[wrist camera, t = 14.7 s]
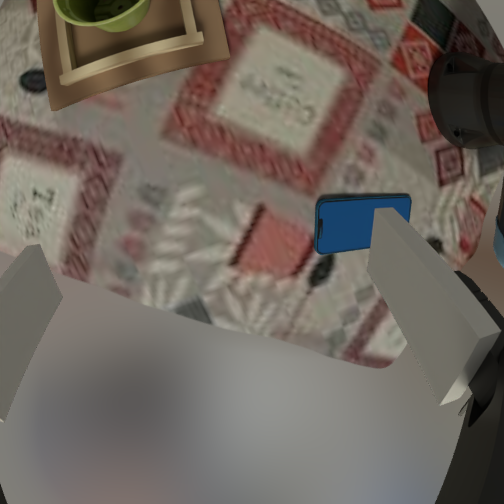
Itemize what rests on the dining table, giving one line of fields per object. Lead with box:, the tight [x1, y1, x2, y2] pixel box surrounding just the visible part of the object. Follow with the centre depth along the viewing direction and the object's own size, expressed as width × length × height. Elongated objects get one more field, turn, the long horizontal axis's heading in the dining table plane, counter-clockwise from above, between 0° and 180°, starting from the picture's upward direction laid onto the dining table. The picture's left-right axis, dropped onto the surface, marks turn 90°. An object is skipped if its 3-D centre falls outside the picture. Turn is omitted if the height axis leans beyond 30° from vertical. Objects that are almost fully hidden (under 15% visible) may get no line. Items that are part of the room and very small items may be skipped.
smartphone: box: [314, 195, 412, 255], centre depth 41 cm, size 7×1×15 cm
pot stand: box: [37, 0, 230, 111], centre depth 23 cm, size 20×18×4 cm
